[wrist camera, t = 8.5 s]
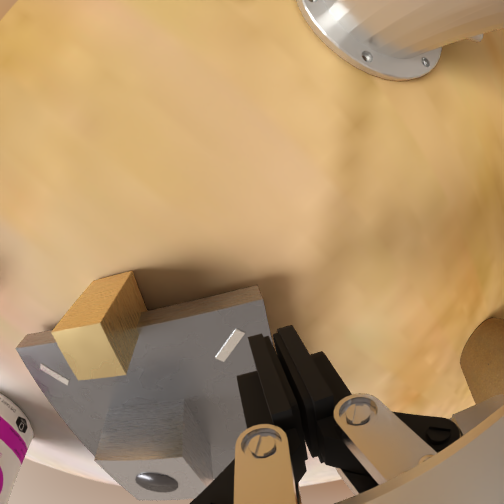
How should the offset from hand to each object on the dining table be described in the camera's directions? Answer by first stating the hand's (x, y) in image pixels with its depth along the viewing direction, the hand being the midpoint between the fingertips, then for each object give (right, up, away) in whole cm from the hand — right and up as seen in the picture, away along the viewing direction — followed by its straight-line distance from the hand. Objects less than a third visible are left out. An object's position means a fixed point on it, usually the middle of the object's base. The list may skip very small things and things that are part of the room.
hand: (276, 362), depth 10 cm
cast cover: (-8, -9, +8) cm, 14 cm away
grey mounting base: (-8, -7, +10) cm, 15 cm away
